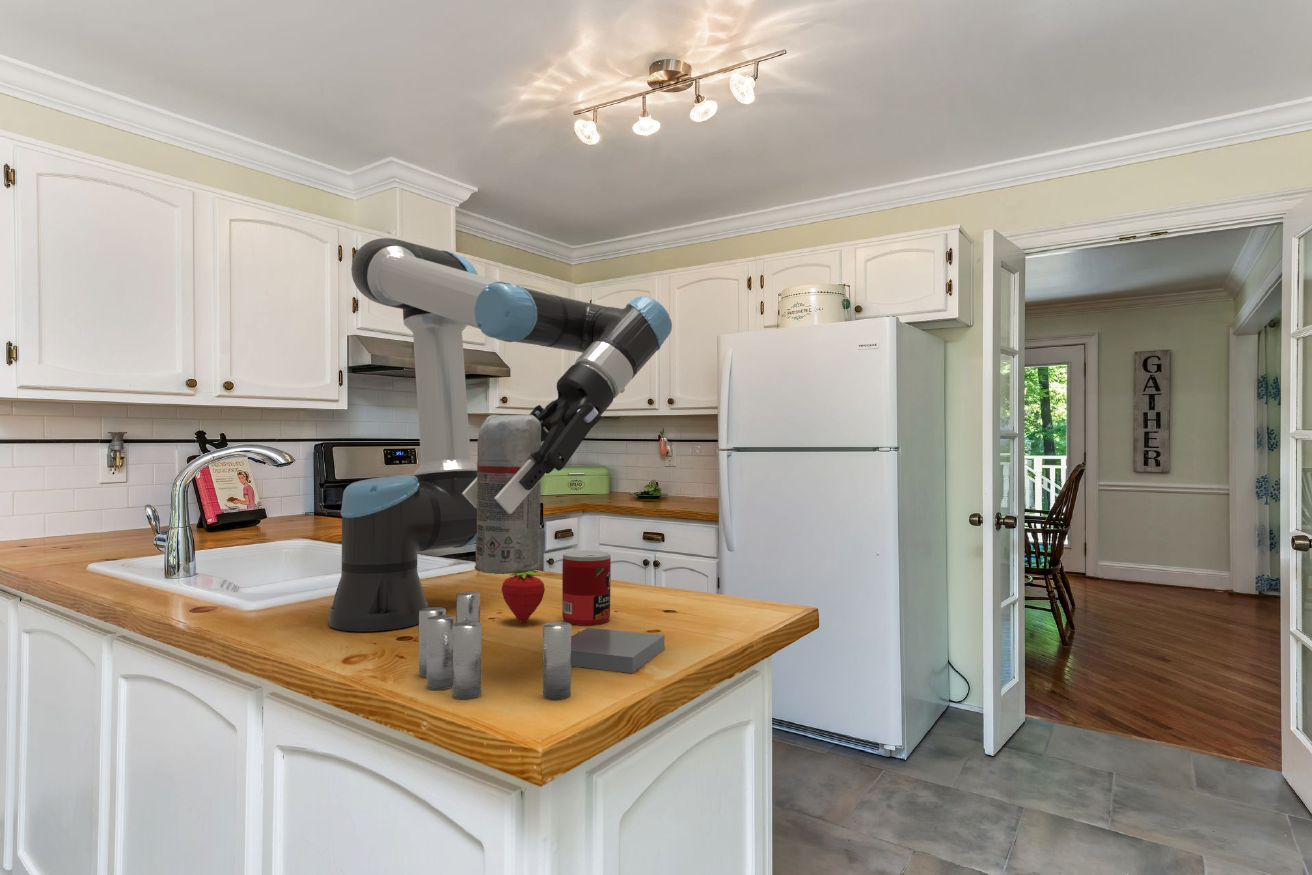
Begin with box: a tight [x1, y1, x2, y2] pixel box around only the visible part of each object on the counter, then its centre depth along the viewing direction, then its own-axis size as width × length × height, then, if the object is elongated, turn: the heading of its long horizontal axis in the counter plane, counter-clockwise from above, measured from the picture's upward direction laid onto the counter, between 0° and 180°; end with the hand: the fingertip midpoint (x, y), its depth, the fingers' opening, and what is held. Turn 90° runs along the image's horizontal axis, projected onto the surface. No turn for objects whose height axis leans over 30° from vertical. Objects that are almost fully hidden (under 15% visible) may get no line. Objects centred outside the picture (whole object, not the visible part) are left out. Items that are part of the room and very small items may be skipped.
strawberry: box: [501, 570, 546, 623], centre depth 121 cm, size 6×8×10 cm
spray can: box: [473, 413, 542, 575], centre depth 95 cm, size 8×8×20 cm
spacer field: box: [418, 591, 572, 701], centre depth 93 cm, size 23×18×8 cm
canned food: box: [561, 550, 612, 626], centre depth 123 cm, size 8×8×11 cm
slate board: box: [571, 627, 666, 674], centre depth 102 cm, size 12×12×2 cm
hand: (485, 503), depth 93 cm, fingers closed on spray can, 8 cm apart
